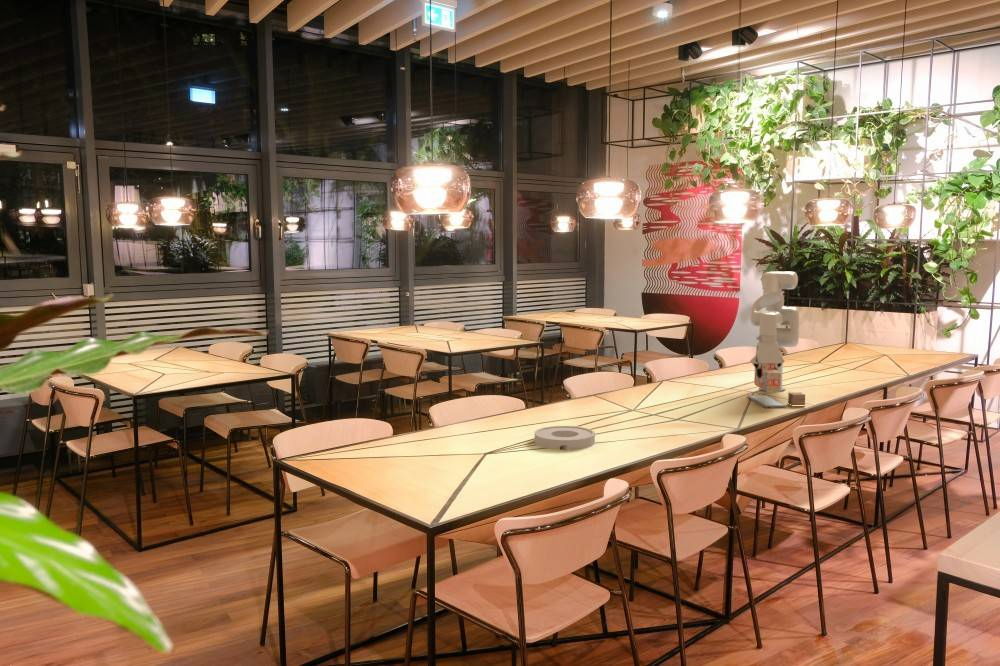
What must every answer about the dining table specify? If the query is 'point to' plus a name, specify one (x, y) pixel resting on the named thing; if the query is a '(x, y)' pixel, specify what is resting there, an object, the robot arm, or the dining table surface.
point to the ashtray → (564, 437)
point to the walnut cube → (796, 398)
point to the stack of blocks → (768, 378)
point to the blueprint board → (766, 401)
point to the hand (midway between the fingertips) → (766, 376)
